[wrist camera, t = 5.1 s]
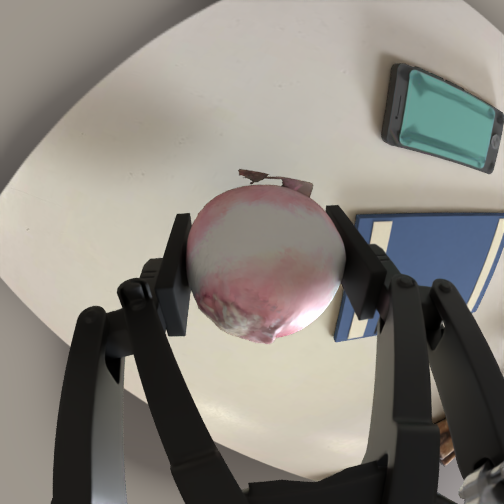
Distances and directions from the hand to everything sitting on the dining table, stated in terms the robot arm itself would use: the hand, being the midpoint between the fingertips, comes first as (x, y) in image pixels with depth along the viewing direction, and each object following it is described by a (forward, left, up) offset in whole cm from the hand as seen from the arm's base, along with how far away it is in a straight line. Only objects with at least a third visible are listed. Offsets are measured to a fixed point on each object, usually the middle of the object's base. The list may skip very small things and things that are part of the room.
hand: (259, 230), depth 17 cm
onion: (0, 0, 0) cm, 1 cm away
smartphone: (-19, -7, -7) cm, 21 cm away
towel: (-21, +11, -7) cm, 25 cm away
